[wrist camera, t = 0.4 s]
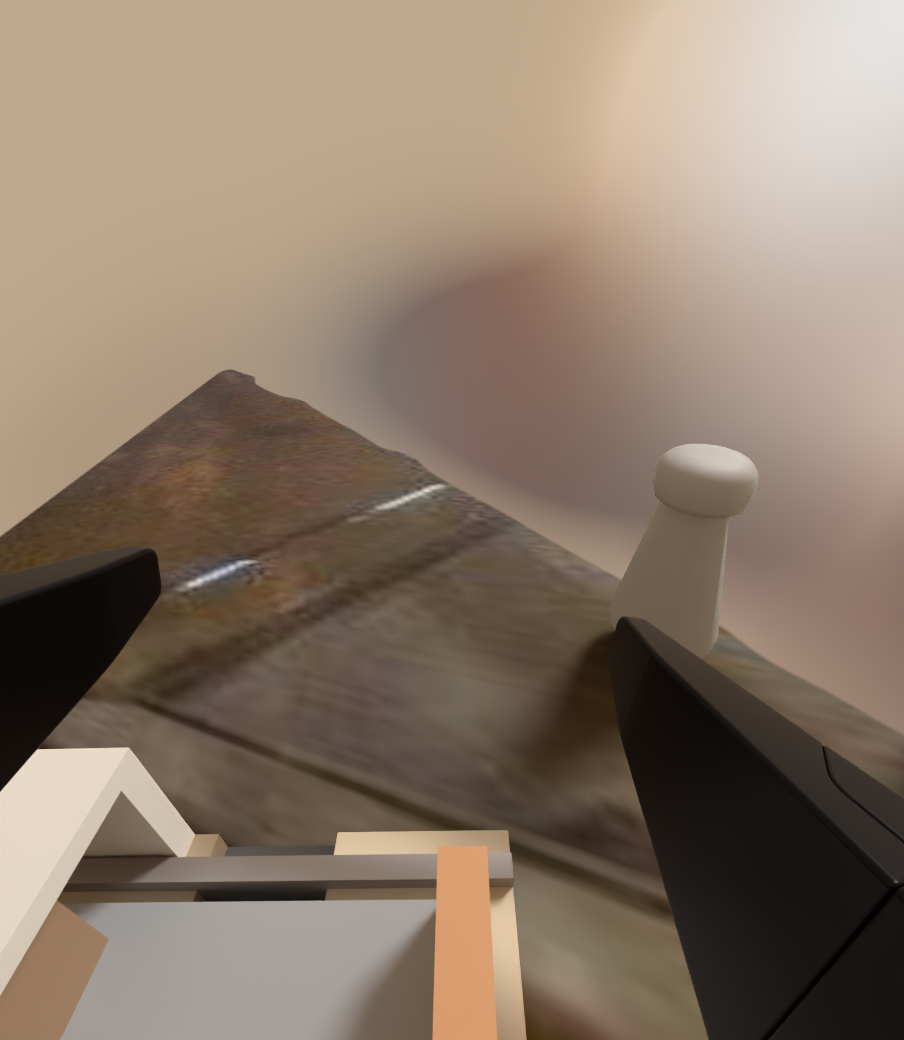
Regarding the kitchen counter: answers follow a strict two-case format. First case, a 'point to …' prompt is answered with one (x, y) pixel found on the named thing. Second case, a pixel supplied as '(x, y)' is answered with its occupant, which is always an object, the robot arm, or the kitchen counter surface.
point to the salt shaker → (687, 544)
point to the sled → (265, 968)
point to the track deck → (320, 884)
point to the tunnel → (73, 832)
